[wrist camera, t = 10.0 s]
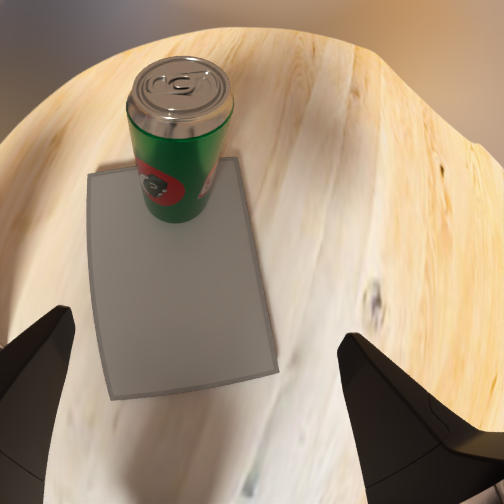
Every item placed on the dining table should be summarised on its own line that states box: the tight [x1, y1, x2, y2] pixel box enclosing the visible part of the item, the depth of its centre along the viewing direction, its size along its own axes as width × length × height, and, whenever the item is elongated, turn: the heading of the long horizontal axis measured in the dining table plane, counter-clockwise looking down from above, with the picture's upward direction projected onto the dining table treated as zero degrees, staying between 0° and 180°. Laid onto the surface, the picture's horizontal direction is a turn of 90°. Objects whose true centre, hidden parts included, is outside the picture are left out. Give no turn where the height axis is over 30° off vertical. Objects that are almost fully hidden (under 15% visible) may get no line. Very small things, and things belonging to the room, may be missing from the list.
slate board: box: [87, 157, 279, 401], centre depth 21 cm, size 18×13×1 cm
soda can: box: [126, 56, 234, 224], centre depth 16 cm, size 5×5×12 cm
